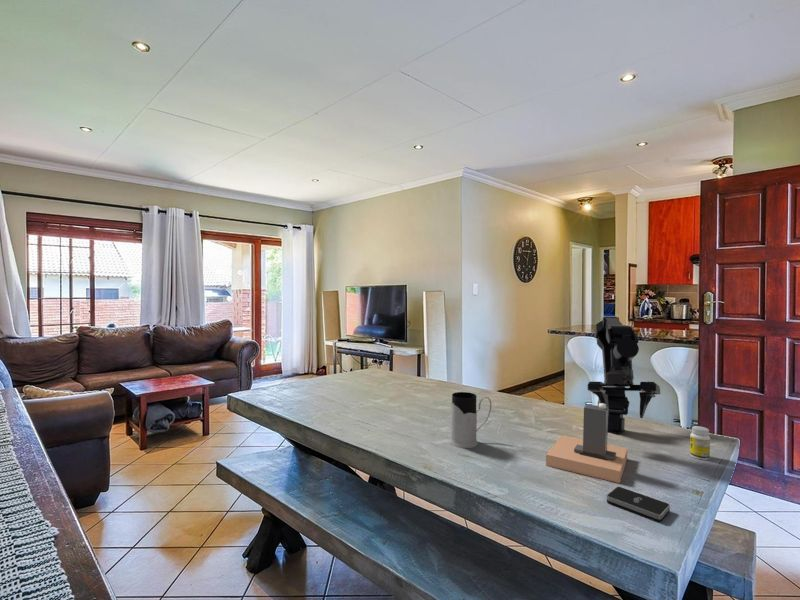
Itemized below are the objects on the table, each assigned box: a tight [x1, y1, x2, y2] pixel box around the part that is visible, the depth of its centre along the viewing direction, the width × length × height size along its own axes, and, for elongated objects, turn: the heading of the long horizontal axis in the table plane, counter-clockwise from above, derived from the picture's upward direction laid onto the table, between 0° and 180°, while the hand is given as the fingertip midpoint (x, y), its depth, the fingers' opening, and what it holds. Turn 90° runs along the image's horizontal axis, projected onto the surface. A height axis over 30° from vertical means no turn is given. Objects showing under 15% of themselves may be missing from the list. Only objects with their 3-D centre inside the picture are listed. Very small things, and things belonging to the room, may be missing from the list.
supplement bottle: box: [689, 425, 711, 461], centre depth 121 cm, size 5×5×8 cm
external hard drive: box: [606, 486, 671, 523], centre depth 93 cm, size 7×11×2 cm, turn 42°
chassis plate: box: [545, 434, 628, 484], centre depth 116 cm, size 18×18×3 cm
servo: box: [574, 403, 616, 460], centre depth 114 cm, size 10×4×17 cm, turn 56°
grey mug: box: [449, 391, 492, 449], centre depth 131 cm, size 9×14×15 cm, turn 111°
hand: (623, 417), depth 123 cm, fingers open, 9 cm apart
